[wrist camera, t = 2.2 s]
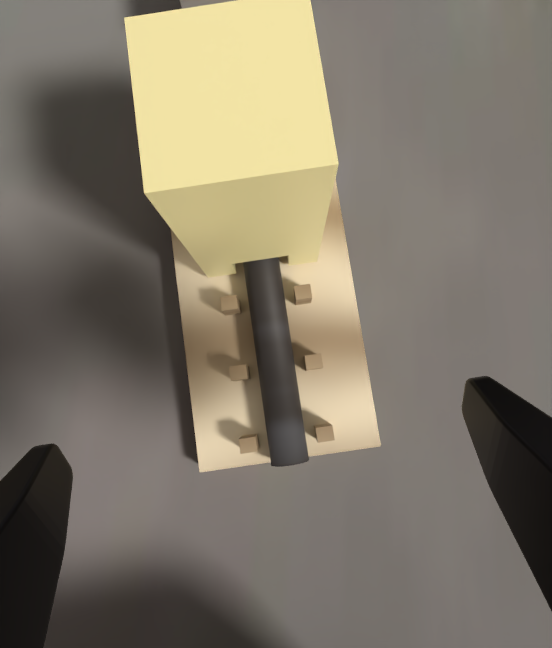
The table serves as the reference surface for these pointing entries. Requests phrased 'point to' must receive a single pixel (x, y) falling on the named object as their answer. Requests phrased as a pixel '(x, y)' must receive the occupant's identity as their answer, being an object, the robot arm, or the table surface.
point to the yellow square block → (234, 129)
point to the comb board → (305, 338)
